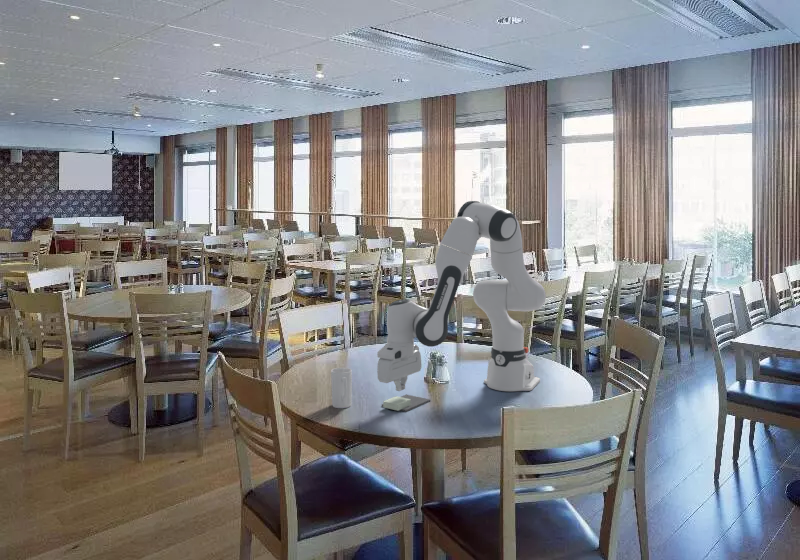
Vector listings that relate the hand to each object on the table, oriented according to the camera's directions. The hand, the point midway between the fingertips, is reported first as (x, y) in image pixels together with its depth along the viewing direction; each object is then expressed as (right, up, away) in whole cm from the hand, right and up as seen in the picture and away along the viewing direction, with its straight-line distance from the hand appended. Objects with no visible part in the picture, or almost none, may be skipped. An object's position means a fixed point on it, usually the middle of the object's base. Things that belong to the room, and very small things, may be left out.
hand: (400, 390), depth 228 cm
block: (+1, -4, +1) cm, 4 cm away
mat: (+2, -5, +3) cm, 6 cm away
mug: (-19, -6, 0) cm, 20 cm away
